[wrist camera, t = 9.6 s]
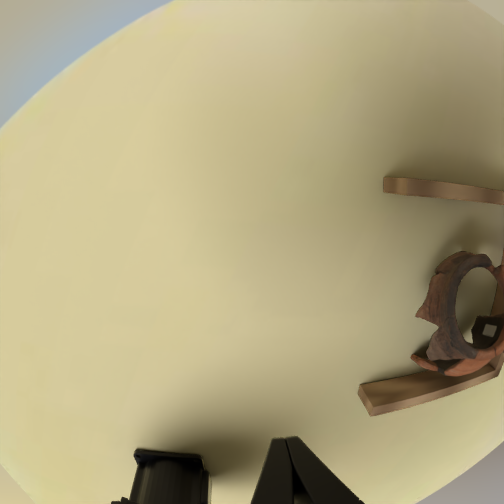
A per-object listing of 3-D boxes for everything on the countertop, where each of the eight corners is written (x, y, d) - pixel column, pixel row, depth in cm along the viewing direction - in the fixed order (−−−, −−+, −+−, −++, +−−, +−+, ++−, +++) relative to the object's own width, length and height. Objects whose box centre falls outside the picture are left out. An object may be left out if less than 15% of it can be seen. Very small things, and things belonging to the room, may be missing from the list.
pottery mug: (376, 362, 22) (422, 368, 14) (399, 255, 25) (445, 220, 17) (479, 382, 21) (537, 386, 13) (495, 288, 23) (549, 267, 15)
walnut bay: (357, 393, 22) (370, 416, 19) (383, 177, 18) (407, 177, 15) (481, 362, 23) (498, 376, 20) (514, 194, 19) (537, 197, 16)
